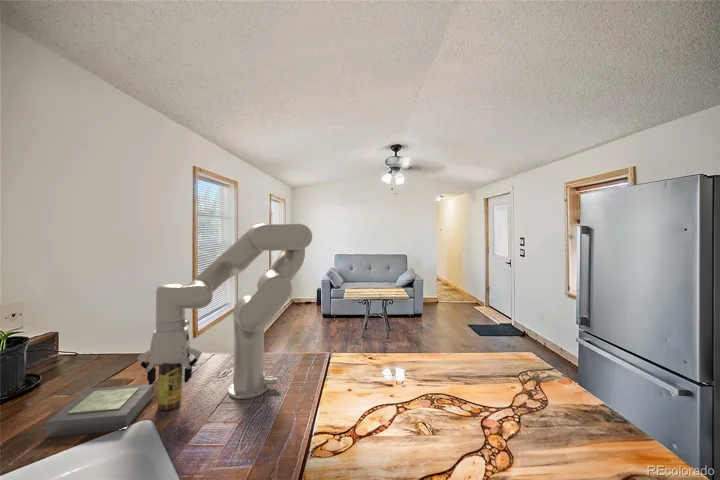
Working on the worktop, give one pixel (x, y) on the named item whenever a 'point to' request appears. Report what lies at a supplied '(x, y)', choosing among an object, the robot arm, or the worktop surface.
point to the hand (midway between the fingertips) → (169, 381)
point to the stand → (100, 410)
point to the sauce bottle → (169, 386)
